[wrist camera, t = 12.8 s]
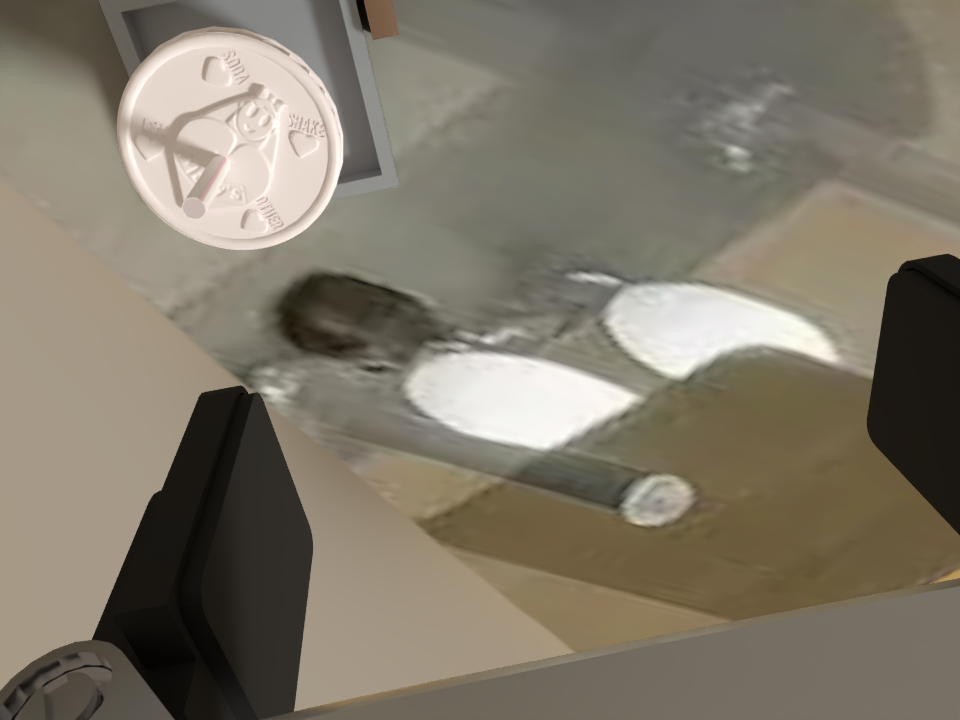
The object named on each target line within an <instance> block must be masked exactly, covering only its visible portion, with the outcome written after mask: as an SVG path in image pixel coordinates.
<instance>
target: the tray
mask: <svg viewBox="0 0 960 720" xmlns="http://www.w3.org/2000/svg"><path fill="white" fill-rule="evenodd" d="M98 1H99V3H100V6H101V8H102V11H103V13H104V16H105V18H106V21H107V23H108V26H109V28H110V31H111V33H112V36H113V38H114V41H115V43H116V46H117V48H118V51H119V53H120V56H121V58H122V61H123V63H124V66H125V68H126V71H127V74H128V76H129V79H130V78H131V76H132V74H133V73H134V72H135V70H136V69H137V68H138V66H139V65H140V64H141V63H142V62H143V61H144V60H145V59H146V58H147V57H148V56H149V55H150V54H151V53H152V52H153V51H154V50H155V49H156V48H157V47H158V46H159V45H161V44H163V43H165V42H167V41H168V40H170V39H172V38H174V37H176V36H178V35H180V34H181V33H183V32H187V31H192V30H197V29H202V28H207V27H212V26H216V27H228V28H240V29H246V30H249V31H252V32H255V33H257V34H260V35H263V36H266V37H268V38H271V39H274V40H276V41H277V42H279V43H280V44H282V45H283V46H285V47H286V48H288V49H289V50H290V51H292V52H293V53H295V54H296V55H298V56H299V57H301V58H302V59H303V60H304V62H305V63H306V64H307V65H308V66H309V67H310V68H311V69H312V70H313V71H314V73H315V74H316V75H317V76H318V77H319V78H320V79H321V80H322V82H323V84H324V86H325V87H326V89H327V91H328V93H329V95H330V97H331V98H332V100H333V102H334V104H335V106H336V108H337V112H338V116H339V120H340V124H341V128H342V132H343V164H342V168H341V171H340V175H339V178H338V182H337V185H336V188H335V190H334V193H333V195H332V197H331V199H330V201H331V200H336V199H340V198H345V197H350V196H354V195H359V194H363V193H368V192H373V191H377V190H382V189H386V188H391V187H395V186H399V182H398V176H397V172H396V168H395V164H394V159H393V155H392V151H391V147H390V142H389V138H388V134H387V130H386V125H385V121H384V117H383V113H382V108H381V104H380V100H379V96H378V91H377V87H376V83H375V79H374V74H373V70H372V66H371V62H370V57H369V53H368V49H367V45H366V40H365V36H364V32H363V28H362V23H361V19H360V15H359V11H358V6H357V2H356V0H98Z"/></svg>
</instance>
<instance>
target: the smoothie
mask: <svg viewBox="0 0 960 720" xmlns="http://www.w3.org/2000/svg"><path fill="white" fill-rule="evenodd" d="M117 139H118V146H119V151H120V155H121V159H122V162H123V165H124V168H125V170H126V172H127V175H128V177H129V179H130V181H131V183H132V184H133V186H134V188H135V189H136V191H137V192H138V194H139V195H140V197H141V198H142V199H143V201H144V202H145V203H146V204H147V206H148V207H149V208H150V209H151V210H152V211H153V212H154V213H155V214H156V215H157V216H158V217H160V218H161V219H162V220H163V221H164V222H166V223H167V224H168V225H170V226H171V227H172V228H174V229H175V230H177V231H179V232H180V233H182V234H184V235H186V236H188V237H190V238H192V239H194V240H197V241H199V242H201V243H205V244H208V245H211V246H215V247H219V248H225V249H233V250H253V249H260V248H266V247H270V246H274V245H277V244H280V243H282V242H285V241H287V240H289V239H291V238H293V237H295V236H296V235H298V234H299V233H301V232H302V231H304V230H305V229H306V228H308V227H309V226H310V225H311V224H312V223H313V222H314V221H315V220H316V219H317V218H318V217H319V216H320V214H321V213H322V212H323V210H324V209H325V208H326V206H327V204H328V203H329V201H330V199H331V197H332V195H333V193H334V190H335V188H336V185H337V182H338V178H339V175H340V171H341V168H342V164H343V132H342V128H341V124H340V120H339V116H338V112H337V108H336V106H335V104H334V102H333V100H332V98H331V97H330V95H329V93H328V91H327V89H326V87H325V86H324V84H323V82H322V80H321V79H320V78H319V77H318V76H317V75H316V74H315V73H314V71H313V70H312V69H311V68H310V67H309V66H308V65H307V64H306V63H305V62H304V60H303V59H302V58H301V57H299V56H298V55H296V54H295V53H293V52H292V51H290V50H289V49H288V48H286V47H285V46H283V45H282V44H280V43H279V42H277V41H276V40H274V39H271V38H268V37H266V36H263V35H260V34H257V33H255V32H252V31H249V30H246V29H240V28H228V27H216V26H212V27H207V28H202V29H197V30H192V31H187V32H183V33H181V34H180V35H178V36H176V37H174V38H172V39H170V40H168V41H167V42H165V43H163V44H161V45H159V46H158V47H157V48H156V49H155V50H154V51H153V52H152V53H151V54H150V55H149V56H148V57H147V58H146V59H145V60H144V61H143V62H142V63H141V64H140V65H139V66H138V68H137V69H136V70H135V72H134V73H133V74H132V76H131V78H130V79H129V81H128V83H127V85H126V87H125V89H124V92H123V94H122V98H121V101H120V105H119V110H118V117H117Z"/></svg>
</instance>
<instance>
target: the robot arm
mask: <svg viewBox="0 0 960 720" xmlns="http://www.w3.org/2000/svg"><path fill="white" fill-rule="evenodd" d="M867 429H868V433H869V436H870V438H871V440H872V442H873V443H874V444H875V446H876V447H877V448H878V449H879V450H880V451H881V452H882V453H883V454H884V455H885V456H886V457H887V458H888V460H889V461H890V462H891V463H892V464H893V465H894V466H895V467H896V468H897V469H898V470H899V471H900V472H901V473H902V474H903V475H904V477H905V478H906V479H907V480H908V481H909V482H910V483H911V484H912V485H913V486H914V487H915V488H916V489H917V490H918V491H919V492H920V494H921V495H922V496H923V497H924V498H925V499H926V500H927V501H928V502H929V503H930V504H931V505H932V506H933V507H934V508H935V509H936V510H937V512H938V513H939V514H940V515H941V516H942V517H943V518H944V519H945V520H946V521H947V522H948V523H949V524H950V525H951V526H952V527H953V529H954V530H955V531H956V532H957V533H958V534H959V535H960V259H958V258H957V257H955V256H953V255H950V254H943V255H937V256H932V257H927V258H921V259H916V260H911V261H906V262H905V263H903V264H902V265H901V267H900V268H899V270H898V273H895V274H893V275H892V276H891V277H890V279H889V282H888V285H887V292H886V298H885V305H884V311H883V318H882V324H881V331H880V337H879V344H878V351H877V357H876V364H875V370H874V377H873V383H872V390H871V396H870V403H869V409H868V416H867ZM312 555H313V540H312V533H311V529H310V526H309V523H308V520H307V518H306V515H305V512H304V510H303V507H302V504H301V501H300V499H299V496H298V493H297V491H296V488H295V485H294V482H293V480H292V477H291V474H290V472H289V469H288V466H287V463H286V461H285V458H284V455H283V453H282V450H281V447H280V445H279V442H278V439H277V437H276V434H275V431H274V428H273V426H272V423H271V420H270V417H269V415H268V412H267V409H266V407H265V404H264V401H263V399H262V397H261V396H260V394H259V393H251V394H248V392H247V390H246V389H245V388H244V387H243V386H241V385H240V386H235V387H230V388H224V389H219V390H214V391H209V392H204V393H201V395H200V396H199V398H198V401H197V403H196V406H195V408H194V411H193V413H192V416H191V418H190V421H189V423H188V426H187V428H186V431H185V433H184V436H183V438H182V441H181V443H180V446H179V448H178V451H177V453H176V456H175V458H174V461H173V463H172V466H171V468H170V471H169V473H168V476H167V478H166V481H165V483H164V486H163V488H162V491H159V492H157V493H155V494H154V495H153V496H152V498H151V500H150V501H149V503H148V505H147V508H146V510H145V513H144V515H143V518H142V520H141V522H140V525H139V527H138V529H137V532H136V534H135V537H134V539H133V542H132V544H131V546H130V549H129V551H128V554H127V556H126V559H125V561H124V563H123V566H122V568H121V571H120V573H119V575H118V578H117V580H116V583H115V585H114V588H113V590H112V592H111V595H110V597H109V599H108V602H107V604H106V607H105V609H104V612H103V614H102V617H101V619H100V621H99V624H98V626H97V628H96V631H95V633H94V636H93V638H92V640H88V641H81V642H74V643H71V644H68V645H66V646H63V647H60V648H58V649H55V650H52V651H51V652H49V653H47V654H46V655H44V656H42V657H40V658H38V659H37V660H35V661H33V662H32V663H30V664H29V665H28V666H26V667H25V668H24V669H23V670H21V671H20V672H19V673H18V674H16V675H15V676H14V677H13V678H12V679H11V680H10V681H9V682H8V683H7V684H6V685H5V686H4V687H3V689H2V690H1V691H0V720H960V578H959V579H954V580H948V581H943V582H938V583H932V584H927V585H922V586H916V587H911V588H906V589H900V590H895V591H890V592H884V593H879V594H874V595H869V596H864V597H858V598H853V599H848V600H843V601H838V602H833V603H827V604H822V605H817V606H812V607H807V608H801V609H796V610H791V611H786V612H781V613H775V614H770V615H765V616H760V617H755V618H750V619H745V620H739V621H734V622H729V623H724V624H719V625H714V626H709V627H703V628H698V629H693V630H688V631H683V632H678V633H673V634H668V635H662V636H657V637H652V638H647V639H642V640H637V641H632V642H627V643H622V644H617V645H612V646H607V647H602V648H597V649H592V650H587V651H582V652H577V653H572V654H567V655H562V656H557V657H552V658H547V659H542V660H537V661H532V662H527V663H522V664H517V665H512V666H507V667H502V668H497V669H492V670H487V671H482V672H477V673H472V674H467V675H462V676H457V677H451V678H446V679H441V680H437V681H432V682H427V683H423V684H418V685H413V686H408V687H404V688H400V689H395V690H390V691H385V692H380V693H376V694H372V695H366V696H362V697H357V698H353V699H348V700H343V701H339V702H334V703H330V704H325V705H321V706H316V707H312V708H307V709H303V710H300V711H295V712H294V706H295V698H296V690H297V681H298V673H299V664H300V656H301V648H302V639H303V631H304V622H305V613H306V606H307V597H308V588H309V580H310V572H311V563H312Z"/></svg>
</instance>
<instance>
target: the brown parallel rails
mask: <svg viewBox="0 0 960 720" xmlns="http://www.w3.org/2000/svg"><path fill="white" fill-rule="evenodd" d="M364 4H365V8H366V12H367V17H368V21H369V25H370V30H371V34H372V38H373V40H375V39H379V38H384V37H389V36H394V35H399V34H398V29H397V24H396V20H395V15H394V10H393V6H392V1H391V0H364Z"/></svg>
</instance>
